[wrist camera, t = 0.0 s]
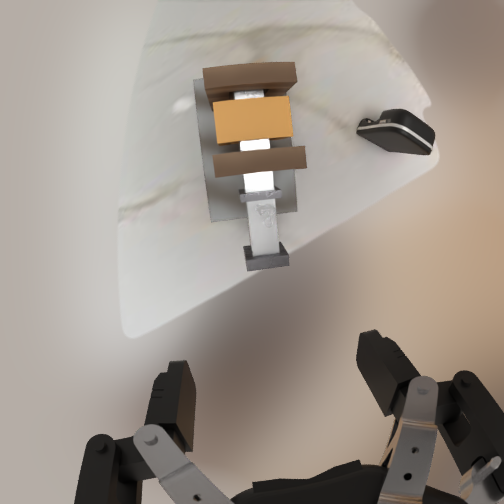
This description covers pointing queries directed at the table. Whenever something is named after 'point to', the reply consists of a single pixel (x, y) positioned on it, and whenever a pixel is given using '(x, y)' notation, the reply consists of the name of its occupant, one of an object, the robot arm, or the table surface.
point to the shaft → (260, 208)
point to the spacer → (252, 119)
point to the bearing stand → (228, 156)
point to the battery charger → (399, 132)
